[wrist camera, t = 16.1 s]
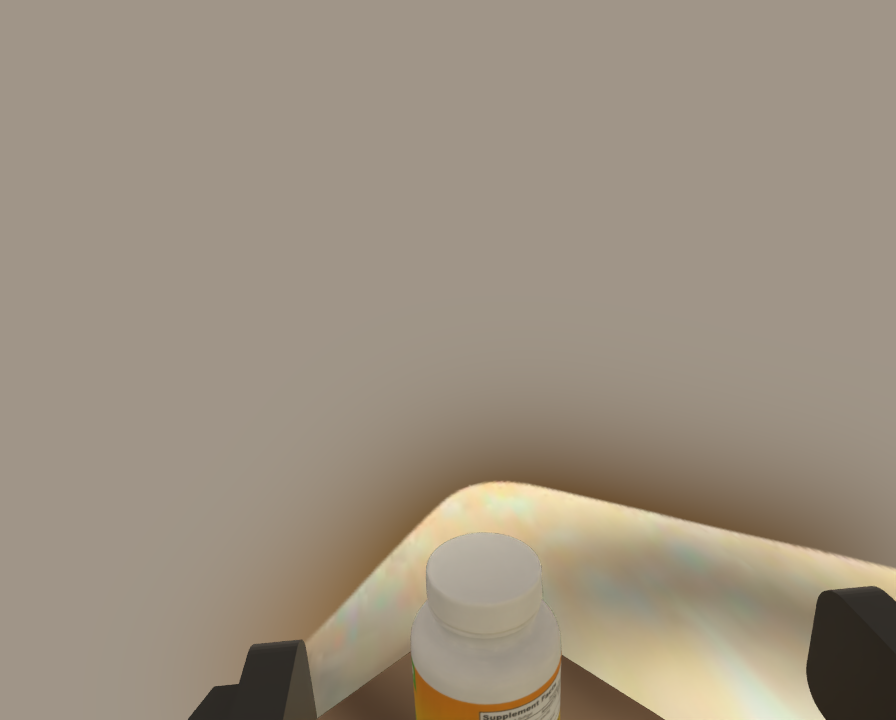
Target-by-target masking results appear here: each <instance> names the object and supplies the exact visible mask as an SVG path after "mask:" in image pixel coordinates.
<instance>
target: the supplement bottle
mask: <svg viewBox="0 0 896 720" xmlns="http://www.w3.org/2000/svg"><path fill="white" fill-rule="evenodd" d="M426 587H427V599H428V600H427V601H426V602H425V603H424V604H423V605H422V607H421V608H420V610H419V611H418V613H417V615H416V617H415V620H414V622H413V626H412V630H411V659H412V672H413V686H414V698H415V712H416V720H560V691H561V636H560V630H559V626H558V623H557V620H556V618H555V616H554V614H553V612H552V610H551V609H550V607H549V606H548V605H547V603H546V602H545V601H544V600H543V599H542V597H543V590H542V567H541V563H540V560H539V558H538V556H537V554H536V553H535V552H534V551H533V550H532V549H531V548H530V547H529V546H528V545H526V544H525V543H523V542H522V541H520V540H518V539H515V538H513V537H510V536H507V535H503V534H497V533H472V534H466V535H462V536H458V537H455V538H453V539H451V540H449V541H447V542H445V543H443V544H442V545H440V546H439V547H438V548H437V549H436V550H435V551H434V552H433V553H432V555H431V556H430V558H429V560H428V563H427V567H426Z"/></svg>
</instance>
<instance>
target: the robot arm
mask: <svg viewBox="0 0 896 720" xmlns="http://www.w3.org/2000/svg"><path fill="white" fill-rule="evenodd" d="M806 673H807V681H808V685H809V689H810V692H811V695H812V697H813V699H814V702H815V704H816V705H817V707H818V709H819V711H820V712H821V714H822V715H823V716H824V718H825V719H826V720H896V601H895V600H894V599H892V598H891V597H890V596H889V595H888V594H887V593H886V592H885V591H883V590H882V589H880V588H878V587H874V586H868V587H858V588H847V589H837V590H827V591H824V592H822V593H821V594H820V595H819V597H818V600H817V605H816V611H815V617H814V623H813V629H812V635H811V641H810V647H809V654H808V660H807V667H806ZM188 720H317V714H316V708H315V702H314V696H313V689H312V683H311V677H310V671H309V665H308V659H307V652H306V647H305V644H304V641H303V640H293V641H282V642H273V643H262V644H253V645H252V646H251V647H250V649H249V652H248V655H247V658H246V662H245V665H244V668H243V672H242V675H241V679H240V682H239V684H235V685H225V686H215V687H214V688H213V689H212V690H211V691H210V692H209V693H208V695H207V696H206V697H205V699H204V700H203V701H202V702H201V704H200V705H199V706H198V707H197V709H196V710H195V711H194V712H193V714H192V715H191V716H190V717H189V719H188Z"/></svg>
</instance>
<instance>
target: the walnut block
mask: <svg viewBox="0 0 896 720" xmlns="http://www.w3.org/2000/svg"><path fill="white" fill-rule="evenodd" d="M317 720H416V712H415V698H414V686H413V672H412V659H411V652H409V653H408V654H407V655H405V656H404V657H402V658H401V659H400V660H398V661H397V662H395V663H394V664H393V665H391V666H390V667H388V668H387V669H386V670H384V671H383V672H381V673H380V674H379V675H377V676H376V677H375V678H373V679H372V680H370V681H369V682H368V683H366V684H365V685H363V686H362V687H361V688H359V689H358V690H356V691H355V692H354V693H352V694H351V695H349V696H348V697H347V698H345V699H344V700H342V701H341V702H340V703H338V704H337V705H335V706H334V707H333V708H331V709H330V710H328V711H327V712H326V713H324V714H323V715H321V716H320V717H319V718H317ZM560 720H665V719H663V718H661V717H660V716H658V715H657V714H655V713H654V712H652V711H650V710H649V709H647V708H646V707H644V706H642V705H641V704H639V703H638V702H636V701H634V700H633V699H631V698H630V697H628V696H626V695H625V694H623V693H622V692H620V691H619V690H617V689H615V688H614V687H612V686H611V685H609V684H607V683H606V682H604V681H603V680H601V679H599V678H598V677H596V676H595V675H593V674H591V673H590V672H588V671H587V670H585V669H584V668H582V667H580V666H579V665H577V664H576V663H574V662H572V661H571V660H569V659H568V658H566V657H564V656H563V655H561V691H560Z"/></svg>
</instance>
